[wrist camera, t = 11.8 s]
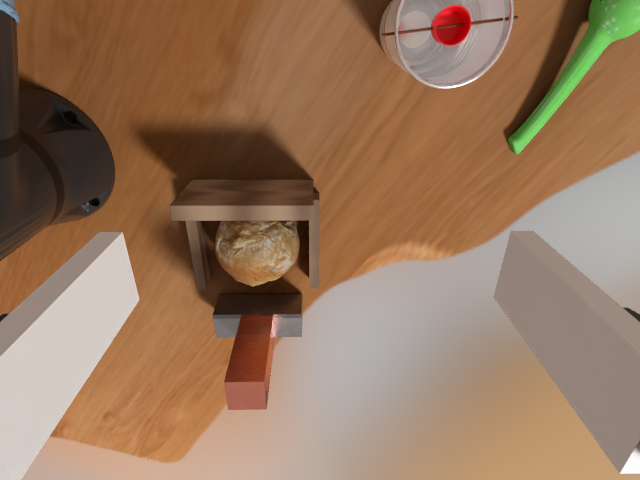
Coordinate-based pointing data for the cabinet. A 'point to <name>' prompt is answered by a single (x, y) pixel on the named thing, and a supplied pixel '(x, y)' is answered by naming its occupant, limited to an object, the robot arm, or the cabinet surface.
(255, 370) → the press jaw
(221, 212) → the frame
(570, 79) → the lime squeezer
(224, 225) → the bread roll
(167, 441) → the cabinet surface
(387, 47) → the striped cup with float
